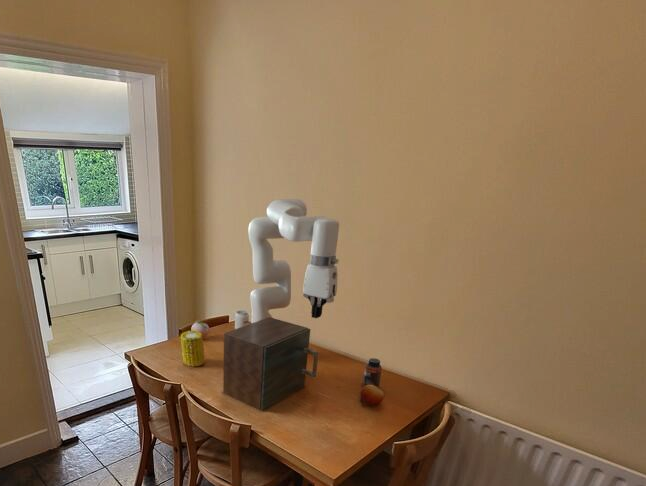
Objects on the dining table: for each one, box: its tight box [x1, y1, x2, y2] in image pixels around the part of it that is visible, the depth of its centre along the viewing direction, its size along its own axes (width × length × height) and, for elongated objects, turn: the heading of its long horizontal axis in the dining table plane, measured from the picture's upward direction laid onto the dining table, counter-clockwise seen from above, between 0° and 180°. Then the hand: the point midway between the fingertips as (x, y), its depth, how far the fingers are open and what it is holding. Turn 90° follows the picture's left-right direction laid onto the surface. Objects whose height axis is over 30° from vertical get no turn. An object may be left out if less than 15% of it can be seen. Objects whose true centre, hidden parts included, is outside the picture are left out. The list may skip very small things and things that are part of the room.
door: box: [260, 328, 319, 412], centre depth 145 cm, size 6×26×24 cm, turn 134°
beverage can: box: [234, 310, 250, 330], centre depth 210 cm, size 7×7×12 cm
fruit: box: [359, 385, 385, 407], centre depth 147 cm, size 8×8×8 cm
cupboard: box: [222, 317, 309, 411], centre depth 153 cm, size 18×26×24 cm
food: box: [180, 329, 206, 367], centre depth 177 cm, size 15×12×10 cm
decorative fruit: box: [190, 319, 211, 339], centre depth 204 cm, size 9×8×10 cm
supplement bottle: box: [362, 357, 383, 388], centre depth 157 cm, size 6×6×11 cm
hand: (316, 316), depth 136 cm, fingers closed
